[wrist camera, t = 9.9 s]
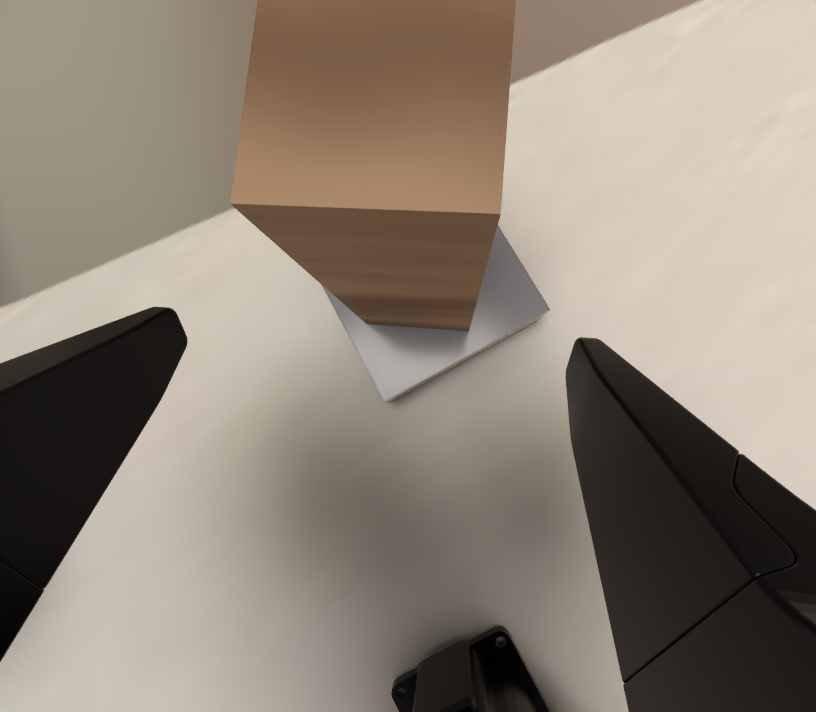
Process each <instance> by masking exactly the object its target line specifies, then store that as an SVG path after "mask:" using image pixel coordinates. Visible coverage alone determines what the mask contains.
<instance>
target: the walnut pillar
mask: <svg viewBox="0 0 816 712" xmlns="http://www.w3.org/2000/svg"><path fill="white" fill-rule="evenodd" d="M515 2H516V0H258V3H257V11H256V17H255V25H254V32H253V39H252V47H251V54H250V62H249V69H248V77H247V83H246V91H245V98H244V105H243V113H242V120H241V127H240V134H239V143H238V149H237V156H236V164H235V171H234V179H233V186H232V193H231V201H230V204H231V205H232V206H233V207H235V208H236V209H237V210H238V211H239V212H240V213H241V214H242V215H244V216H245V217H246V218H247V219H248V220H249V221H250V222H252V223H253V224H254V225H255V226H256V227H257V228H258V229H259V230H261V231H262V232H263V233H264V234H265V235H266V236H267V237H269V238H270V239H271V240H272V241H273V242H274V243H275V244H276V245H278V246H279V247H280V248H281V249H282V250H283V251H284V252H286V253H287V254H288V255H289V256H290V257H291V258H292V259H293V260H295V261H296V262H297V263H298V264H299V265H300V266H301V267H303V268H304V269H305V270H306V271H307V272H308V273H309V274H310V275H312V276H313V277H314V278H315V279H316V280H317V281H318V282H319V283H321V284H322V285H323V286H324V287H325V288H326V289H327V290H329V291H330V292H331V293H332V294H333V295H334V296H335V297H336V298H338V299H339V300H340V301H341V302H342V303H343V304H344V305H346V306H347V307H348V308H349V309H350V310H351V311H352V312H353V313H355V314H356V315H357V316H358V317H359V318H360V319H361V320H363V321H364V322H365V323H366V324H372V325H386V326H400V327H414V328H428V329H442V330H457V331H469V329H470V325H471V322H472V318H473V314H474V311H475V307H476V303H477V299H478V296H479V292H480V288H481V285H482V281H483V277H484V273H485V270H486V266H487V262H488V259H489V255H490V251H491V247H492V244H493V240H494V236H495V233H496V229H497V225H498V221H499V218H500V214H501V200H502V186H503V172H504V158H505V144H506V129H507V115H508V101H509V87H510V71H511V59H512V44H513V30H514V16H515Z"/></svg>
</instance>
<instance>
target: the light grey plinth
mask: <svg viewBox="0 0 816 712" xmlns="http://www.w3.org/2000/svg"><path fill="white" fill-rule="evenodd" d="M322 286H323V285H322ZM323 288H324V290H325V292H326V294H327V295H328V297H329V299H330V301H331V303H332V305H333V307H334V309H335V311H336V312H337V314H338V316H339V318H340V320H341V322H342V324H343V326H344V327H345V329H346V331H347V333H348V335H349V337H350V339H351V341H352V342H353V344H354V346H355V348H356V350H357V352H358V354H359V356H360V358H361V359H362V361H363V363H364V365H365V367H366V369H367V371H368V373H369V374H370V376H371V378H372V380H373V382H374V384H375V386H376V388H377V389H378V391H379V393H380V395H381V397H382V399H383V401H384V402H392V401H394V400H395V399H397V398H399V397H401V396H403V395H404V394H406V393H408V392H410V391H412V390H413V389H415V388H417V387H419V386H421V385H422V384H424V383H426V382H428V381H430V380H431V379H433V378H435V377H437V376H439V375H440V374H442V373H444V372H446V371H448V370H449V369H451V368H453V367H455V366H457V365H458V364H460V363H462V362H464V361H466V360H467V359H469V358H471V357H473V356H475V355H477V354H478V353H480V352H482V351H484V350H486V349H487V348H489V347H491V346H493V345H495V344H496V343H498V342H500V341H502V340H504V339H505V338H507V337H509V336H511V335H513V334H514V333H516V332H518V331H520V330H522V329H523V328H525V327H527V326H529V325H531V324H532V323H534V322H536V321H538V320H539V319H540V318H542V317H543V316H544V315H545V314H546V313H547V312H548V311H549V310H550V309H549V307H548V305H547V304H546V302H545V301H544V299H543V297H542V296H541V294H540V292H539V291H538V289H537V288H536V286H535V284H534V283H533V281H532V280H531V278H530V276H529V275H528V273H527V271H526V270H525V268H524V267H523V265H522V263H521V262H520V260H519V259H518V257H517V255H516V254H515V252H514V250H513V249H512V247H511V246H510V244H509V242H508V241H507V239H506V238H505V236H504V234H503V233H502V231H501V230H500V228H499V226H498V225H497V229H496V233H495V236H494V240H493V244H492V247H491V251H490V255H489V259H488V262H487V266H486V270H485V273H484V277H483V281H482V285H481V288H480V292H479V296H478V299H477V303H476V307H475V311H474V314H473V318H472V322H471V325H470V329H469V331H457V330H442V329H428V328H414V327H400V326H386V325H372V324H366V323H365V322H364V321H363V320H361V319H360V318H359V317H358V316H357V315H356V314H355V313H353V312H352V311H351V310H350V309H349V308H348V307H347V306H346V305H344V304H343V303H342V302H341V301H340V300H339V299H338V298H336V297H335V296H334V295H333V294H332V293H331V292H330V291H329V290H327V289H326V288H325V287H324V286H323Z"/></svg>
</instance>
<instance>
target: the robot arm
mask: <svg viewBox="0 0 816 712" xmlns="http://www.w3.org/2000/svg"><path fill="white" fill-rule="evenodd" d="M186 346H187V336H186V334H185V331H184V329H183V327H182V324H181V322H180V320H179V318H178V315H177V313H176V312H175V311H174V310H173V309H171V308H166V307H152V308H149V309H146V310H143V311H141V312H138V313H135V314H133V315H130V316H127V317H124V318H122V319H119V320H116V321H114V322H111V323H108V324H106V325H103V326H100V327H97V328H95V329H92V330H89V331H87V332H84V333H81V334H79V335H76V336H73V337H70V338H68V339H65V340H62V341H60V342H57V343H54V344H51V345H49V346H46V347H43V348H41V349H38V350H35V351H33V352H30V353H27V354H24V355H22V356H19V357H16V358H14V359H11V360H8V361H6V362H3V363H0V662H1V660H2V658H3V657H4V655H5V654H6V652H7V650H8V649H9V647H10V645H11V644H12V642H13V641H14V639H15V637H16V636H17V634H18V632H19V631H20V629H21V628H22V626H23V624H24V623H25V621H26V619H27V618H28V616H29V615H30V613H31V611H32V610H33V608H34V606H35V605H36V603H37V602H38V600H39V598H40V597H41V595H42V593H43V592H44V588H45V587H46V586H47V585H48V583H49V581H50V580H51V578H52V576H53V575H54V573H55V572H56V570H57V568H58V567H59V565H60V563H61V562H62V560H63V559H64V557H65V555H66V554H67V552H68V550H69V549H70V547H71V546H72V544H73V542H74V541H75V539H76V537H77V536H78V534H79V533H80V531H81V529H82V528H83V526H84V524H85V523H86V521H87V520H88V518H89V516H90V515H91V513H92V511H93V510H94V508H95V506H96V505H97V503H98V502H99V500H100V498H101V497H102V495H103V493H104V492H105V490H106V489H107V487H108V485H109V484H110V482H111V480H112V479H113V477H114V476H115V474H116V472H117V471H118V469H119V467H120V466H121V464H122V463H123V461H124V459H125V458H126V456H127V454H128V453H129V451H130V450H131V448H132V446H133V445H134V443H135V441H136V440H137V438H138V437H139V435H140V433H141V432H142V430H143V428H144V427H145V425H146V424H147V422H148V420H149V419H150V417H151V415H152V414H153V412H154V411H155V409H156V407H157V406H158V404H159V402H160V400H161V399H162V397H163V395H164V393H165V391H166V389H167V387H168V384H169V382H170V380H171V378H172V376H173V374H174V372H175V370H176V368H177V366H178V363H179V361H180V359H181V357H182V355H183V353H184V351H185V349H186ZM566 387H567V399H568V412H569V424H570V435H571V442H572V448H573V453H574V458H575V462H576V467H577V471H578V476H579V481H580V485H581V490H582V495H583V499H584V504H585V509H586V513H587V518H588V522H589V527H590V532H591V536H592V541H593V546H594V550H595V555H596V560H597V564H598V569H599V573H600V578H601V583H602V587H603V592H604V597H605V601H606V606H607V611H608V615H609V620H610V624H611V629H612V634H613V638H614V643H615V648H616V652H617V657H618V662H619V666H620V671H621V675H622V680H623V682H624V683H625V684H624V691H625V695H626V700H627V705H628V709H629V712H816V510H815V509H813V508H812V507H811V506H809V505H808V504H807V503H805V502H804V501H802V500H801V499H800V498H798V497H797V496H796V495H794V494H793V493H792V492H790V491H789V490H788V489H786V488H785V487H784V486H783V485H781V484H780V483H779V482H777V481H776V480H775V479H774V478H772V477H771V476H770V475H768V474H767V473H766V472H765V471H763V470H762V469H761V468H759V467H758V466H757V465H756V464H754V463H753V462H752V461H751V460H750V459H748V458H747V457H746V456H745V455H743V454H739V451H738V450H737V449H736V448H734V447H733V446H732V445H731V444H729V443H728V442H727V441H726V440H724V439H723V438H722V437H721V436H719V435H718V434H717V433H716V432H714V431H713V430H712V429H711V428H709V427H708V426H707V425H706V424H704V423H703V422H702V421H701V420H699V419H698V418H697V417H696V416H694V415H693V414H692V413H691V412H689V411H688V410H687V409H686V408H684V407H683V406H682V405H681V404H679V403H678V402H677V401H676V400H674V399H673V398H672V397H671V396H669V395H668V394H667V393H666V392H664V391H663V390H662V389H661V388H660V387H658V386H657V385H656V384H655V383H653V382H652V381H651V380H650V379H648V378H647V377H646V376H645V375H643V374H642V373H641V372H640V371H638V370H637V369H636V368H635V367H633V366H632V365H631V364H630V363H628V362H627V361H626V360H625V359H623V358H622V357H621V356H620V355H618V354H617V353H616V352H615V351H613V350H612V349H611V348H610V347H608V346H607V345H606V344H605V343H603V342H602V341H601V340H599V339H597V338H583V337H580V338H578V339H577V340H576V341H575V343H574V346H573V349H572V353H571V356H570V359H569V362H568V365H567V369H566ZM498 637H504V638H505V641H504V642H502V643H499V642H497V641H496V639H497V638H498ZM399 688H403V689H405V690H406V693H403V694H402V693H400V692H399V691H398V689H399ZM392 697H393V700H394V702H395V704H396V706H397V708H398V710H399V712H551V711H550V709H549V707H548V705H547V703H546V701H545V700H544V698H543V696H542V694H541V692H540V690H539V688H538V686H537V684H536V683H535V681H534V679H533V677H532V675H531V673H530V671H529V669H528V668H527V666H526V664H525V662H524V660H523V658H522V656H521V654H520V653H519V651H518V649H517V647H516V645H515V643H514V641H513V639H512V638H511V636H510V634H509V632H508V631H507V630H506V629H505V628H503V627H495V628H493V629H491V630H489V631H487V632H485V633H483V634H482V635H480V636H478V637H476V638H474V639H472V640H470V641H468V642H467V641H460V642H458V643H456V644H454V645H452V646H450V647H448V648H446V649H445V650H443V651H441V652H439V653H437V654H435V655H433V656H431V657H429V658H427V659H425V660H423V661H422V662H420V664H419V667H418V668H416V669H415V670H413V671H411V672H409V673H407V674H405V675H403V676H401V677H399V678H398V679H396V680H395V682H394V684H393V687H392Z"/></svg>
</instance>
